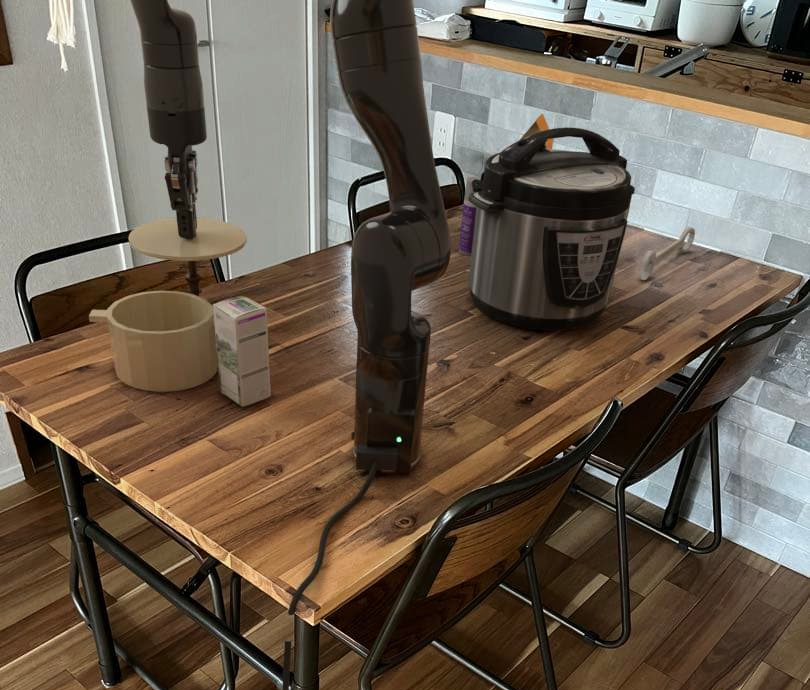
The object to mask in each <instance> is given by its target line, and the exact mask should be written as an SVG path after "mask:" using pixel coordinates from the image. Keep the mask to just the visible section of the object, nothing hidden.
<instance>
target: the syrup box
mask: <svg viewBox="0 0 810 690" xmlns="http://www.w3.org/2000/svg"><path fill="white" fill-rule="evenodd" d="M212 305H213V312H214V324H215V337H216V349H217V362H218V368H217V370H218V379H219V389H220V394H222V395H223V396H225V397H226V398H228V399H229V400H230V401H232V402H233V403H235V404H237V405H238V406H240V407H241V408H242V407H247V406H250V405H253V404H256V403H258V402H261V401H263V400H267V399H268V398H271V397H272V391H271V389H272V387H271V372H270V350H269V327H268V326H269V325H268V309H267V307H265V306H263V305H261V304H260V303H258V302H256V301H254V300H252V299H251V298H249V297H247V296H245V295H239V296H234V297H230V298H227V299H223V300H221V301H218V302H215V303H213V304H212Z"/></svg>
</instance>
